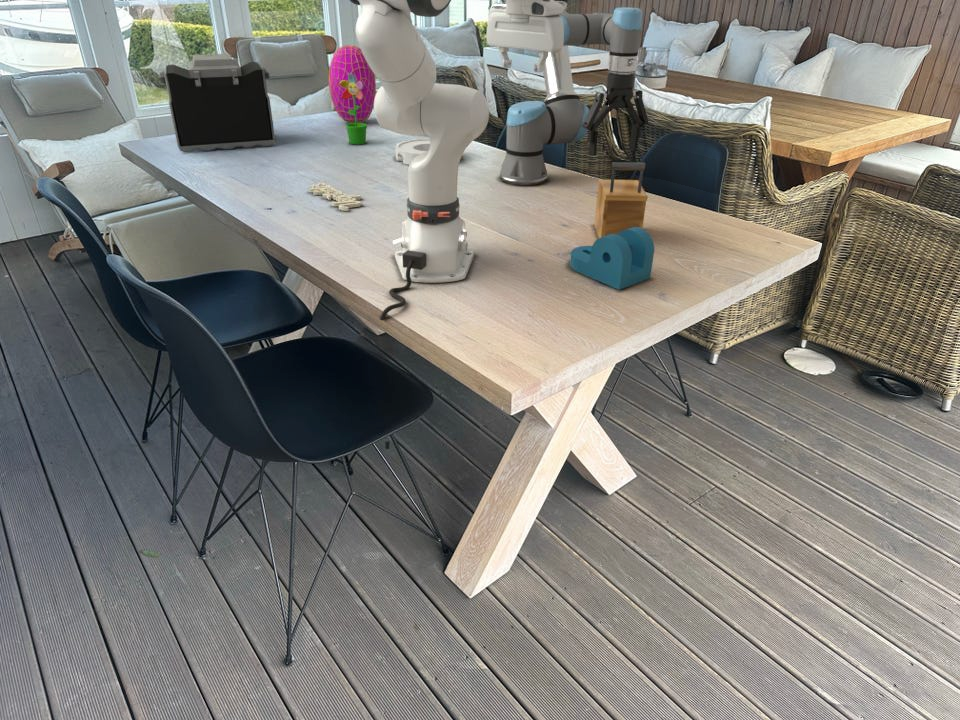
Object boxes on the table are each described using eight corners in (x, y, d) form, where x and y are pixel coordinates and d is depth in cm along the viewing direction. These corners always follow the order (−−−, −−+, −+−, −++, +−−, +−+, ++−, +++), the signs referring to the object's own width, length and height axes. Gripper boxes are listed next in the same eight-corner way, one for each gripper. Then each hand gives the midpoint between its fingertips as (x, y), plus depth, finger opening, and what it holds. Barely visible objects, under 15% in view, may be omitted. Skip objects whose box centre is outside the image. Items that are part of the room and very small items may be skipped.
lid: (647, 201, 167) (651, 165, 163) (605, 200, 167) (609, 165, 163) (637, 184, 179) (641, 151, 174) (598, 184, 179) (601, 150, 175)
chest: (640, 243, 173) (646, 200, 168) (600, 242, 174) (604, 199, 168) (632, 226, 184) (637, 185, 179) (594, 225, 185) (598, 184, 179)
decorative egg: (362, 116, 305) (357, 42, 290) (386, 123, 292) (382, 46, 277) (324, 121, 294) (316, 45, 279) (347, 129, 281) (340, 49, 266)
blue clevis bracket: (650, 277, 154) (656, 233, 149) (619, 289, 148) (624, 243, 143) (591, 254, 166) (595, 212, 161) (560, 264, 160) (563, 221, 155)
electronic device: (273, 133, 274) (261, 51, 258) (280, 146, 256) (268, 58, 241) (174, 140, 262) (156, 54, 247) (174, 153, 244) (155, 62, 229)
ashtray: (454, 167, 232) (454, 155, 230) (388, 164, 235) (387, 152, 233) (466, 151, 252) (466, 140, 250) (404, 148, 255) (404, 137, 253)
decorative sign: (374, 202, 196) (343, 208, 191) (374, 205, 197) (343, 211, 191) (331, 180, 214) (301, 186, 209) (332, 183, 215) (302, 189, 209)
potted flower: (342, 144, 260) (336, 73, 247) (351, 139, 266) (346, 70, 254) (365, 146, 257) (360, 74, 245) (374, 141, 264) (369, 71, 251)
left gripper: (481, 3, 160) (480, 66, 167) (553, 7, 149) (549, 75, 156) (498, 1, 164) (496, 64, 172) (569, 6, 153) (565, 72, 160)
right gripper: (589, 76, 177) (581, 159, 188) (668, 72, 186) (656, 151, 197) (574, 72, 183) (568, 152, 194) (651, 68, 192) (641, 145, 203)
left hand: (522, 69), depth 164 cm, fingers open, 8 cm apart
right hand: (612, 152), depth 196 cm, fingers open, 13 cm apart
